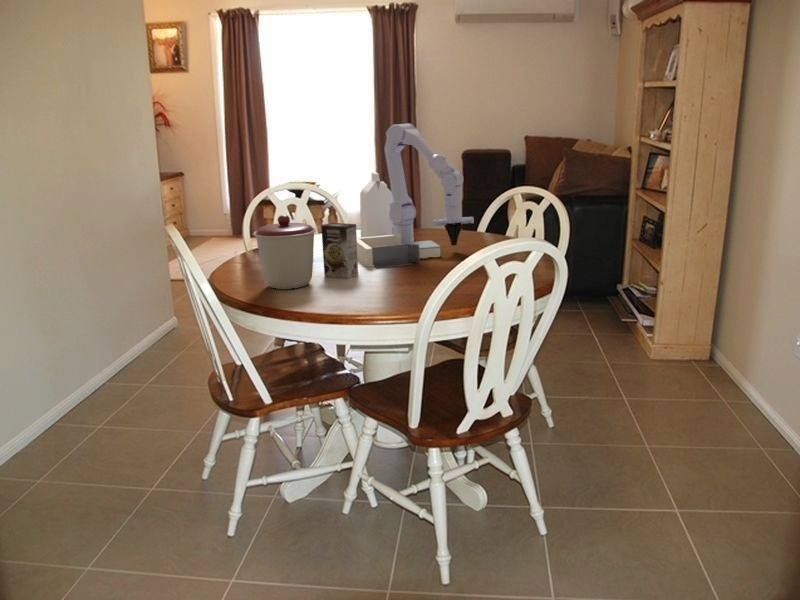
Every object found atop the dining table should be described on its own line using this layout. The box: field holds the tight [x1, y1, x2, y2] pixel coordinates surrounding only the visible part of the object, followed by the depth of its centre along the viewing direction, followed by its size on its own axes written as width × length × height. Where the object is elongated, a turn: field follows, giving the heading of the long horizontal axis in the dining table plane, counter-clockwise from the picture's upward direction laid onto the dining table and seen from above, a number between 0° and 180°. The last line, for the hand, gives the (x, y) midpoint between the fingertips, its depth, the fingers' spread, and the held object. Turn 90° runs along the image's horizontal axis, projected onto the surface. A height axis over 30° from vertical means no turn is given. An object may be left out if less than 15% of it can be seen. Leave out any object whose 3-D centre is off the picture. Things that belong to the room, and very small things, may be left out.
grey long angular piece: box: [371, 244, 421, 269], centre depth 233 cm, size 6×16×6 cm, turn 106°
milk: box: [359, 172, 393, 238], centre depth 274 cm, size 12×12×26 cm
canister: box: [253, 214, 317, 290], centre depth 209 cm, size 18×18×21 cm
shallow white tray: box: [357, 234, 402, 268], centre depth 244 cm, size 22×18×6 cm
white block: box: [407, 240, 442, 259], centre depth 247 cm, size 12×9×4 cm
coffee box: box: [320, 222, 359, 280], centre depth 220 cm, size 9×6×16 cm
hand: (453, 244), depth 250 cm, fingers closed
